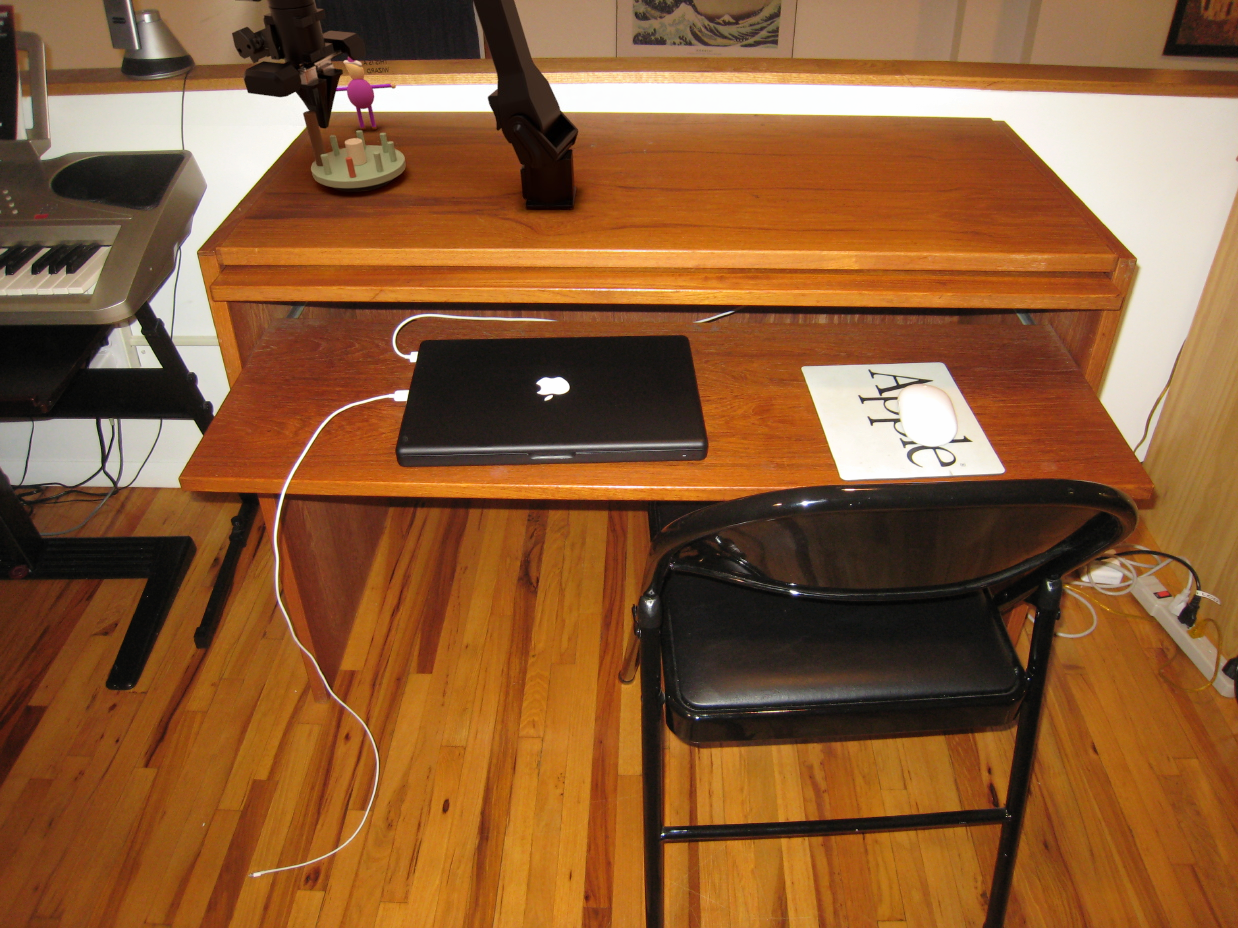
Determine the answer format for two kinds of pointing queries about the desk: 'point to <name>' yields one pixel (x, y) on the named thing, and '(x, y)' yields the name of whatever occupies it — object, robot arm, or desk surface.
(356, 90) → the wizard figurine
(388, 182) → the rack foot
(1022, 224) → the desk surface
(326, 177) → the pegged crank wheel
